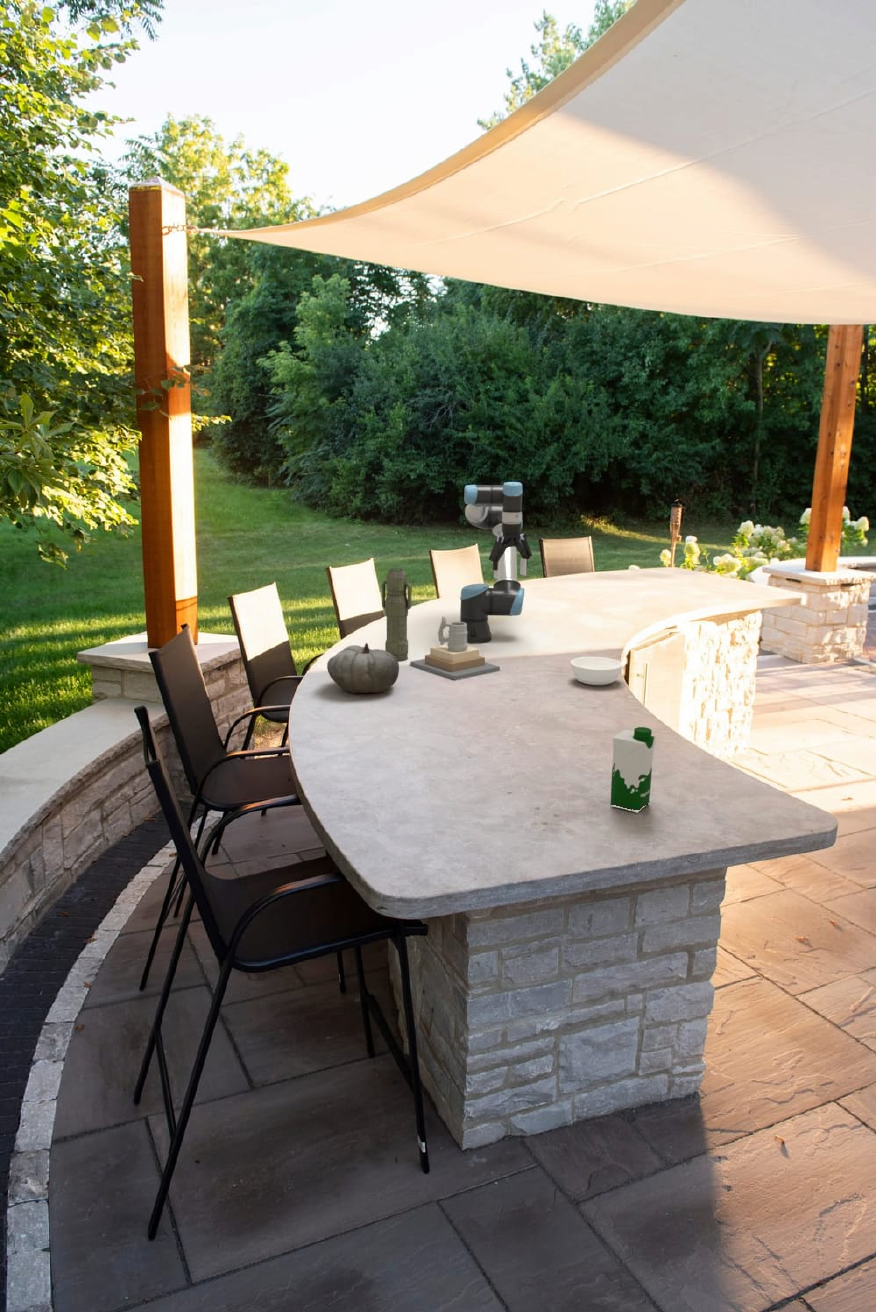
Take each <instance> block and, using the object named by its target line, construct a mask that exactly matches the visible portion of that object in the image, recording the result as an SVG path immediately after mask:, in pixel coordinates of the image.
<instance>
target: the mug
mask: <svg viewBox="0 0 876 1312" xmlns="http://www.w3.org/2000/svg"><path fill="white" fill-rule="evenodd" d="M446 627H447V628H449V629H448V637H445V636H444V629H446ZM437 638H438V642H439V643H440V646H442V645H445V643H447V645H448V650H450V651H455V652H462V651H466V650H467V647H468V646H469V643H467V624H466V623H464V622H460V621H453V622H452V621H451V622H449V623H448V622H447V619H446V617H445V616H441V622H440V625H439V627H438V631H437Z"/></svg>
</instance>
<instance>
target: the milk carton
mask: <svg viewBox="0 0 876 1312" xmlns="http://www.w3.org/2000/svg"><path fill="white" fill-rule="evenodd" d="M612 742H613V743H612V749H613V751H612V765H611V766H612V768H611V785H610V787H611V788H610V789H611V790H610V806H611V805H616V806H620V807H623V808H627V809H631V810H632V809H633V810H640V809H641V808H642V807H643V806H645V805H647V804H648V803H649V804H650V796H651V788H652V787H651V784H652V771H653V758H654V757H653V756H654V748H655V743H656V734H652V729H651V728H648V727H644V726H638V727H634V730H630V729H624V730H622V731H621V732H619V733H618V734H616V735H615V736H613V737H612ZM647 806H648V805H647Z"/></svg>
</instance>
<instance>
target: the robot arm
mask: <svg viewBox="0 0 876 1312" xmlns="http://www.w3.org/2000/svg"><path fill="white" fill-rule="evenodd" d="M463 498H464V503H465V504H466V506H465V509H464V512H465V513H464V516H465V518H466V520H467V522H468V523H470V524H471V525H472V526H474V527H475V528H479V529H482V530H492V535H494V536H495V541H494V545H493V547H492V549H491V552H490V554H489V557H488V560H489V561H491V562H492V570H493V579H496V581H495V582H494V583H493V587H490V586H489V584H488V583H473V584H468V585H466V586H463V587H462V589H461V591H460V597H459V600H460V610H459V611H460V612H459V614H460V615H459V617H460V618H459V619H460V620H459V622H464V623H466V624H467V643H468V644H483V643H490V642H491V641H492V633H491V628H490V625H489V616H493V617H494V616H496V617H498V616H499V617H500V616H501V617H502V616H503V617H513V616H520V615H521V614H522V610H523V604H524V598H525V588H524V587H522V584H521V583H520V582H519V581H518V566H517V565H518V563H517V562H518V561H517V551H518V553H519V554H520V556H521V558H520V566H519V568H520V569H519V571H520V573H519V575H521V576H525V577H526V576H527V567H528V560H529V559H530V558H532V556H533V555H532V551H531V547H530V546H529V542H528V540H527V534H526V533H522V529H523V525H524V524H523V522H524V521H523V511H522V510H523V509H522V507H523V506H522V505H523V504H522V503H523V483H521V482H519V481H508V482H504V483H503V484H501V485H500V484H499V485H495V484H494V485H493V484H492V485H491V484H490V485H489V484H487V485H486V484H483V485H482V484H470V485H468V484H467V485H465V487H464V497H463Z"/></svg>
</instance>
